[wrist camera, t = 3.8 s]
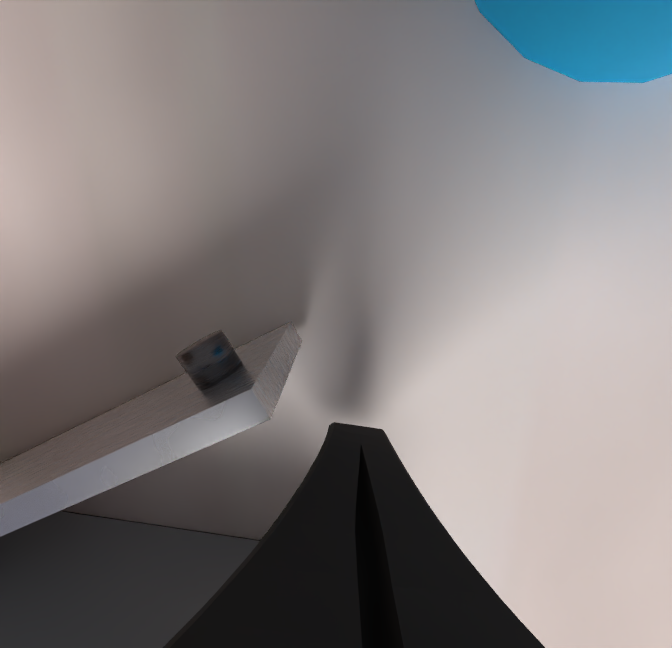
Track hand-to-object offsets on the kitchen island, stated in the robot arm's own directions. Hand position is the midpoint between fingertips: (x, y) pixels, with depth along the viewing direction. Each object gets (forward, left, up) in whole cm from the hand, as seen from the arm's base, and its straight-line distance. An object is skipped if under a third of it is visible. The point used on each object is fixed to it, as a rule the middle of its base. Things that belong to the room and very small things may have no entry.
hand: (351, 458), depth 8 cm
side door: (-7, -1, -1) cm, 7 cm away
